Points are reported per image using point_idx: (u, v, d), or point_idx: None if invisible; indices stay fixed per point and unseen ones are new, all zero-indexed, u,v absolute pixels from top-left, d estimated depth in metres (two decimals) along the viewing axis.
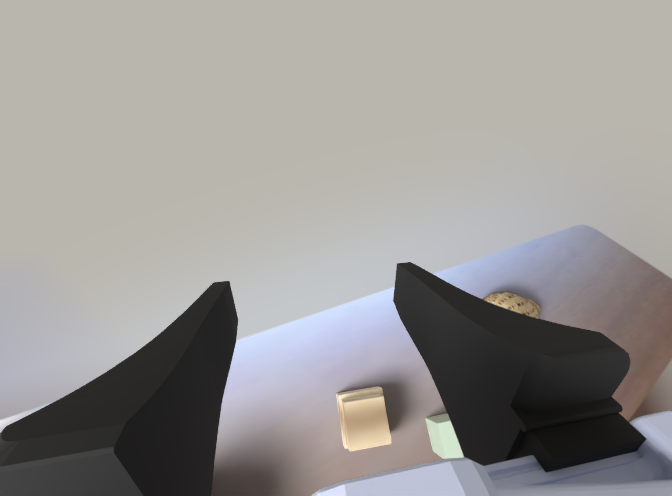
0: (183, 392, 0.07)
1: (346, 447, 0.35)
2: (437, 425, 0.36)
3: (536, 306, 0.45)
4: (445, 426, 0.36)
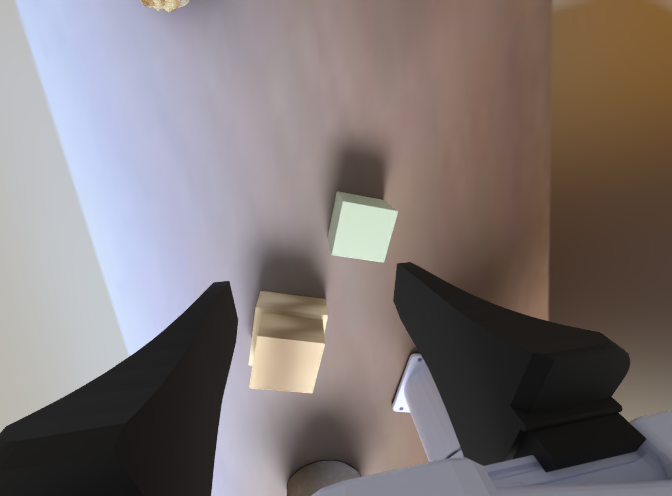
0: (183, 391, 0.07)
1: None
2: (334, 254, 0.21)
3: None
4: (340, 243, 0.20)
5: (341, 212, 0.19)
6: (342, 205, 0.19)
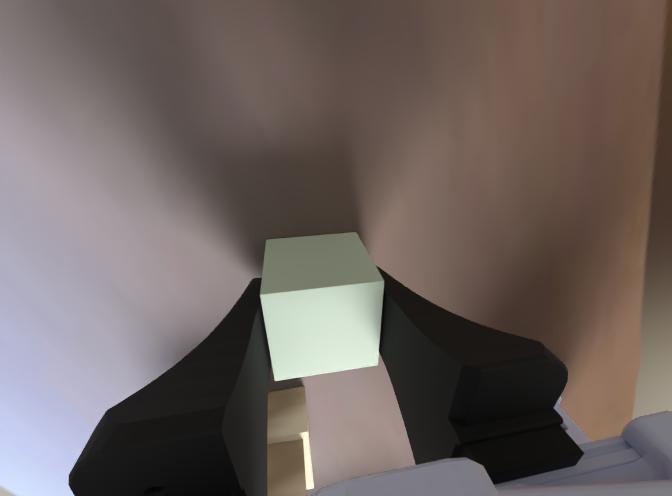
0: (249, 381, 0.07)
1: (311, 487, 0.17)
2: (280, 375, 0.11)
3: None
4: (285, 361, 0.10)
5: (265, 313, 0.09)
6: (262, 300, 0.09)
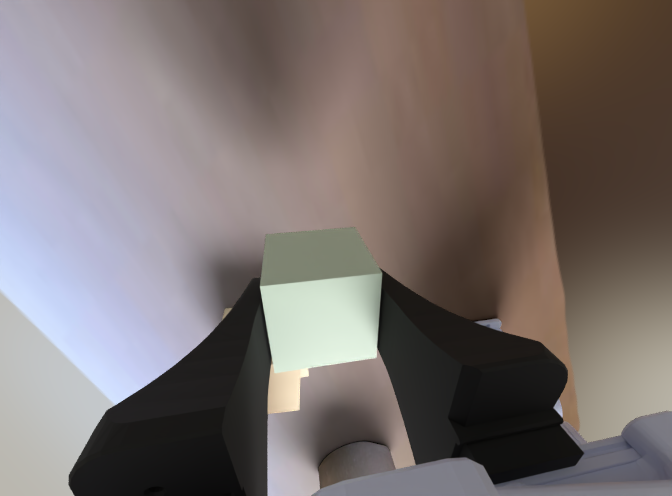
0: (249, 381, 0.07)
1: (306, 374, 0.23)
2: (280, 367, 0.11)
3: None
4: (285, 353, 0.10)
5: (265, 305, 0.09)
6: (262, 292, 0.09)
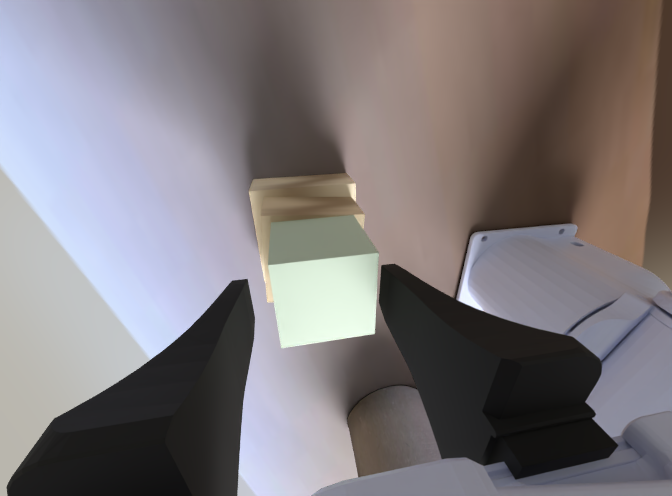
0: (214, 386, 0.07)
1: None
2: (286, 343, 0.12)
3: None
4: (291, 328, 0.11)
5: (272, 283, 0.10)
6: (270, 271, 0.10)
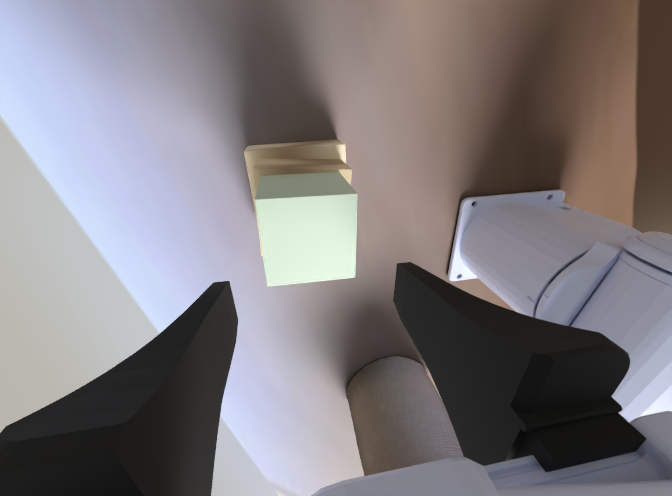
0: (183, 391, 0.07)
1: None
2: (272, 283, 0.13)
3: None
4: (276, 266, 0.12)
5: (259, 218, 0.11)
6: (257, 206, 0.11)
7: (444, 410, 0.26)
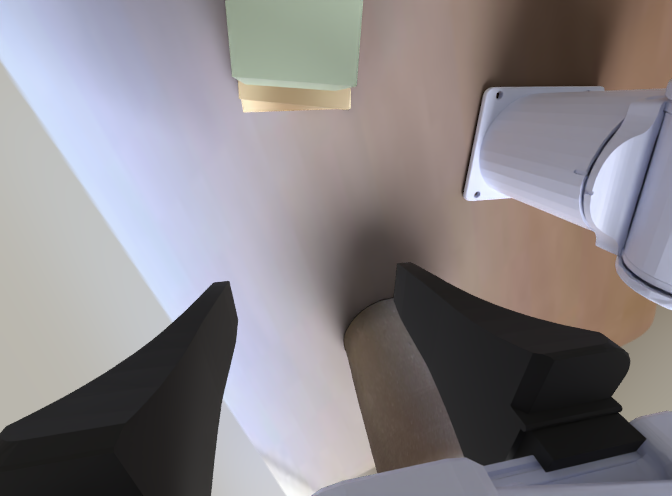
0: (183, 391, 0.07)
1: None
2: (240, 77, 0.09)
3: None
4: (245, 39, 0.08)
5: None
6: None
7: None
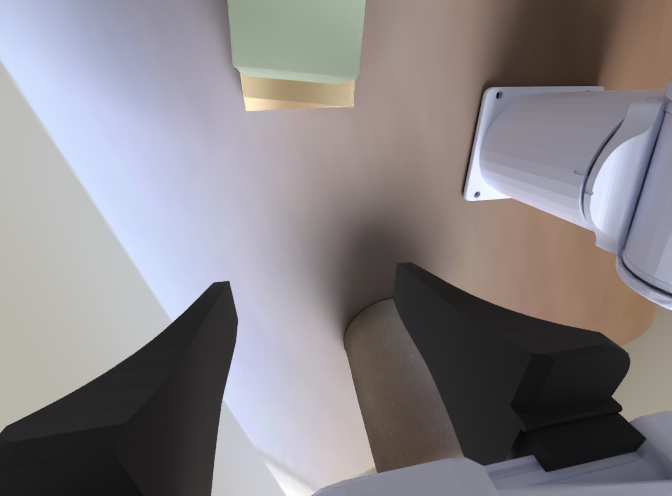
0: (183, 391, 0.07)
1: None
2: (240, 67, 0.09)
3: None
4: (247, 28, 0.08)
5: None
6: None
7: None
